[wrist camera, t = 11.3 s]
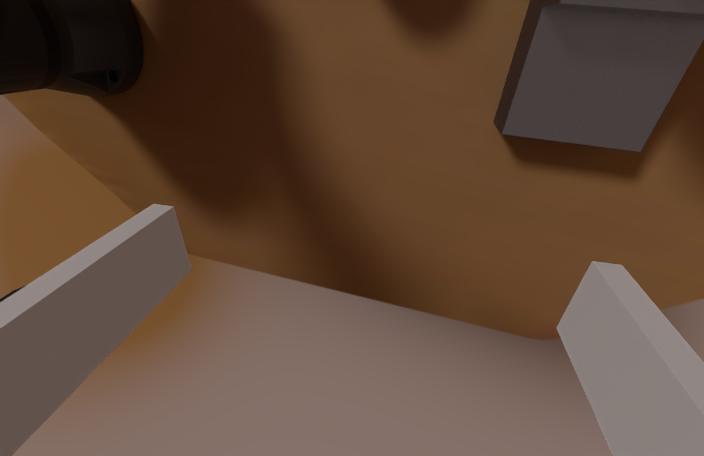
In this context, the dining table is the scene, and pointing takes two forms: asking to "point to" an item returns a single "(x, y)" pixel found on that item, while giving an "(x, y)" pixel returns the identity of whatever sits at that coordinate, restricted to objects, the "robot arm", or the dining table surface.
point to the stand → (598, 69)
